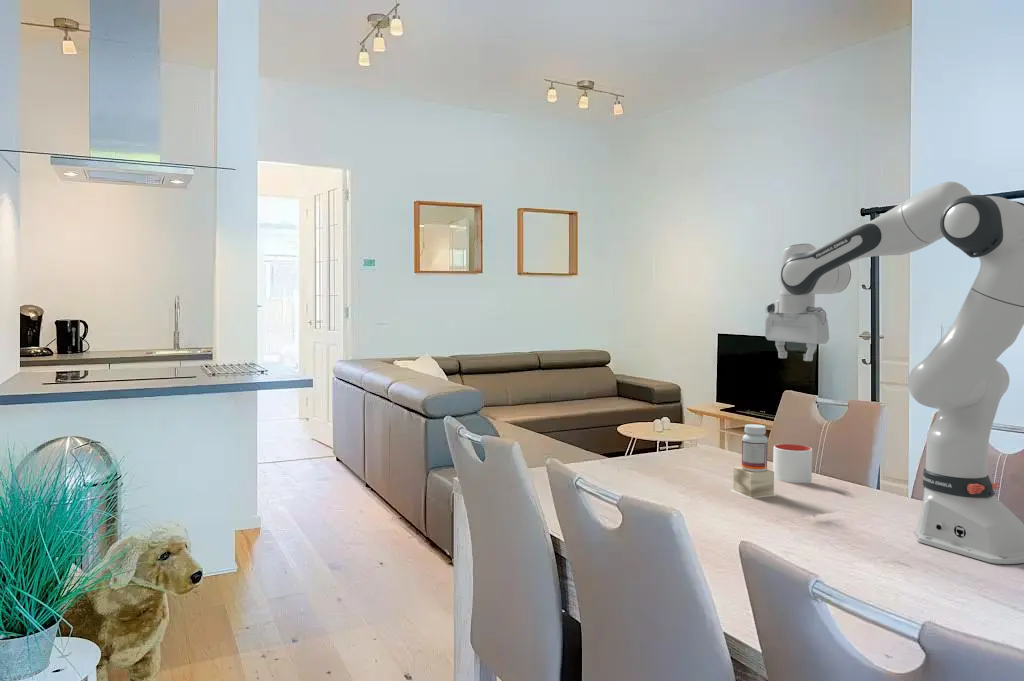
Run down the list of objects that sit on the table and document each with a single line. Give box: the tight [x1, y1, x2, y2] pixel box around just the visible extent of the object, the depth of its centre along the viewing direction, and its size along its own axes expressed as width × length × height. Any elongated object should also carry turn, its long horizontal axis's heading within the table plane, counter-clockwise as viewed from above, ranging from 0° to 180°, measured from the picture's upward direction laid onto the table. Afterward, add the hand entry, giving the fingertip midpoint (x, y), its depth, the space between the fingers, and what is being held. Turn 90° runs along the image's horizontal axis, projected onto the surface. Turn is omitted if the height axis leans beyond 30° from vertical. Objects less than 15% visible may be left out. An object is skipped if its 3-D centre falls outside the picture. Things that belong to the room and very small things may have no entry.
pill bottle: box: [741, 423, 769, 472], centre depth 182 cm, size 6×6×11 cm
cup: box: [772, 443, 813, 485], centre depth 197 cm, size 10×10×10 cm
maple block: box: [732, 466, 775, 497], centre depth 182 cm, size 7×7×6 cm
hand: (795, 359), depth 187 cm, fingers open, 8 cm apart
